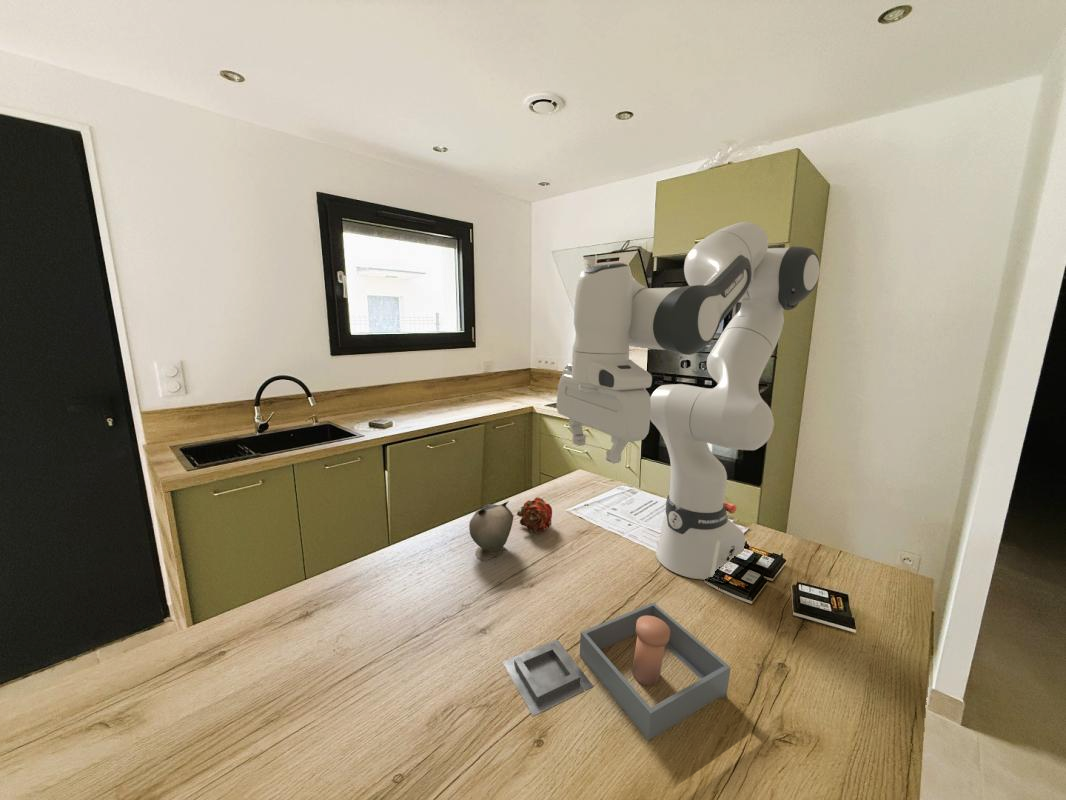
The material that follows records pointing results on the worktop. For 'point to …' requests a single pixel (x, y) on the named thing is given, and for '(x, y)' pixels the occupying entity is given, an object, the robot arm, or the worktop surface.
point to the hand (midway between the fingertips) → (595, 452)
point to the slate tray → (681, 645)
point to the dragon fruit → (536, 515)
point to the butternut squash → (649, 649)
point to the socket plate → (546, 676)
